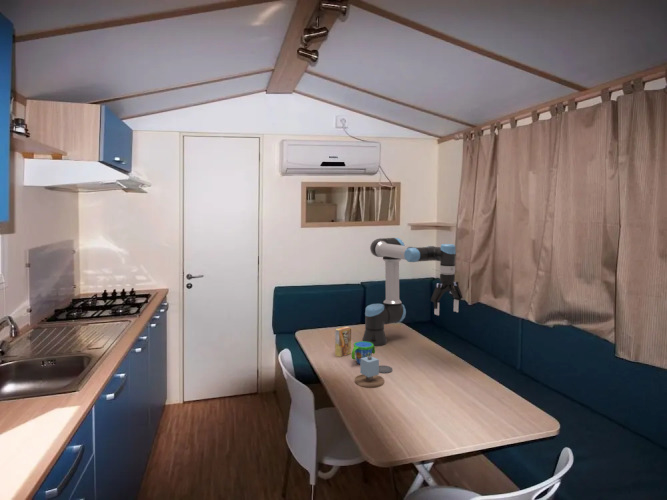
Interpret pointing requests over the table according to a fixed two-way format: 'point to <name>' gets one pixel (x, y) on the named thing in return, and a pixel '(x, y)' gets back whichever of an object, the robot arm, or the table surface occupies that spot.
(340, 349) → the candy box
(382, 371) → the coaster
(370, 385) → the post stand
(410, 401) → the table surface
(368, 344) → the snack cup
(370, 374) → the cube with round hole
